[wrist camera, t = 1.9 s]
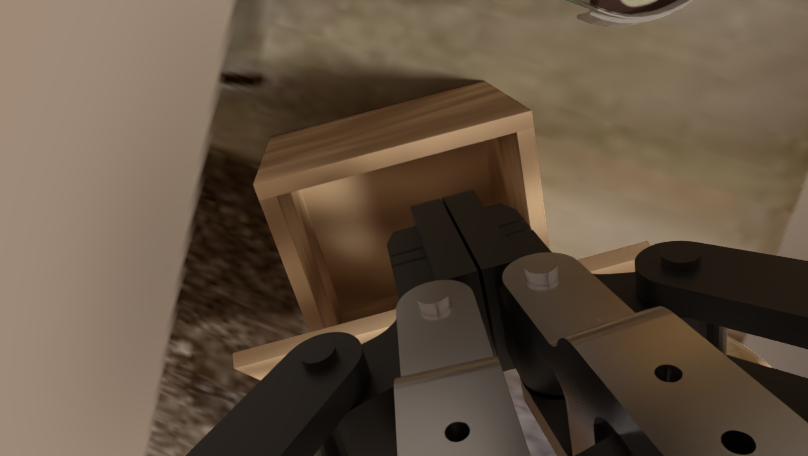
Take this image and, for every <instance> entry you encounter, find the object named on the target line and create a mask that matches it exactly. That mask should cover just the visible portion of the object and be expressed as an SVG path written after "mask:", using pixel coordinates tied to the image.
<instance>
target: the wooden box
mask: <svg viewBox="0 0 808 456" xmlns="http://www.w3.org/2000/svg"><path fill="white" fill-rule="evenodd" d="M253 186H254V189H255V191H256V194H257V197H258V199H259V202H260V204H261V207H262V210H263V212H264V215H265V217H266V220H267V223H268V225H269V228H270V231H271V233H272V236H273V238H274V241H275V244H276V246H277V249H278V252H279V254H280V257H281V259H282V262H283V265H284V267H285V270H286V273H287V275H288V278H289V280H290V283H291V286H292V288H293V291H294V293H295V296H296V299H297V301H298V304H299V307H300V309H301V312H302V314H303V317H304V320H305V322H306V325H307V328H308V330H309V333H310V332H313V331H317V330H321V329H325V328H328V327H332V326H336V325H339V324H343V323H347V322H350V321H354V320H358V319H361V318H365V317H369V316H372V315H376V314H380V313H384V312H387V311H391V310H395V309H396V306H397V304H398V302H399V298H398V293H397V289H396V284H395V280H394V275H393V271H392V266H391V262H390V257H389V253H388V249H387V242H388V241H389V239H390V237H391V235H392V233H393V232H394V231H398V230H402V229H406V228H409V227H413V226H414V224H413V220H412V215H411V211H410V206H412V205H416V204H420V203H423V202H427V201H431V200H435V199H438V198H440V199H441V201H442V197H445V196H449V195H453V194H457V193H460V192H464V191H468V190H474V192H475V193H476V195H477V196H478V198H479V199H480V200H481V202H482V203H483V205H484V206H485V207H487V206H491V205H495V204H498V203H501V204H504V205H506V206H509V207H511V208H514V209H516V210H517V211H518V212H519V214H520V215H521V216H522V217H523V218H524V220H525V221H526V222H527V223H528V224H529V226H530V227H531V229H532V230H534V232H535V233H536V234H537V235H538V236H539V238H540V239H541V240H542V241H543V242H544V244H545V245H546V246H547V247H548V248H549V241H548V233H547V225H546V218H545V210H544V202H543V194H542V187H541V179H540V171H539V163H538V155H537V148H536V140H535V132H534V124H533V117H532V110H530V109H529V108H527V107H525V106H524V105H522V104H521V103H519V102H517V101H516V100H514V99H513V98H511V97H509V96H508V95H506V94H505V93H503V92H502V91H500V90H498V89H497V88H495V87H494V86H492V85H490V84H489V83H487V82H486V81H482V82H478V83H474V84H471V85H467V86H463V87H459V88H455V89H452V90H448V91H444V92H440V93H436V94H433V95H429V96H425V97H421V98H418V99H414V100H410V101H406V102H402V103H399V104H395V105H391V106H387V107H383V108H380V109H376V110H372V111H368V112H364V113H361V114H357V115H353V116H349V117H346V118H342V119H338V120H334V121H330V122H327V123H323V124H319V125H315V126H311V127H308V128H304V129H300V130H296V131H292V132H289V133H285V134H281V135H277V136H274V137H270V139H269V142H268V145H267V148H266V150H265V153H264V156H263V158H262V161H261V164H260V167H259V169H258V172H257V175H256V178H255V180H254V183H253ZM549 250H550V249H549Z"/></svg>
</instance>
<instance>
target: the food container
mask: <svg viewBox="0 0 808 456" xmlns="http://www.w3.org/2000/svg"><path fill="white" fill-rule="evenodd" d="M567 1H570V2H572V3H575V4H578V5H580V6H583V7H585V8H588V9H590V12H587V13H583V14H580V15H577V18H578V19H580V20H583V21H585V22H588V23H591V24H596V25H601V26H613V27H623V26H629V25H635V24H640V23H644V22H648V21H651V20H654V19H657V18H660V17H663V16H666V15H668V14H670V13H672V12H674V11H676V10H678V9H680V8H682V7H684V6H685V5H687V4H688V3H690V2H691V1H692V0H567Z"/></svg>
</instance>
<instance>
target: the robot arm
mask: <svg viewBox="0 0 808 456" xmlns="http://www.w3.org/2000/svg"><path fill="white" fill-rule="evenodd" d="M410 211H411V215H412V220H413V224H414V226H413V227H409V228H406V229H402V230H398V231H394V232H393V233H392V235H391V237H390V239H389V241H388V242H387V249H388V253H389V257H390V262H391V266H392V271H393V275H394V280H395V284H396V289H397V293H398V298H399V302H398V304H397V306H396V320H395V321H394V323H393V324H392V325H391V326H390V327H389V328H388V329H387V330H385V331H384V332H383V333H381V334H380V335H378V336H376V337H374V338H373V339H371V340H369V341H367V342H365V343H363V344H361V343H360V341H359V340H358V339H357V338H356V337H355V336H353V335H351V334H349V333H345V332H329V333H323V334H319V335H316V336H314V337H311V338H309V339H307V340H305V341H303V342H302V343H300V344H298V345H297V346H296V347H294V348H293V349H292V350H291V351H290V352H289V353H288V354H287V355H286V356H285V357H284V358H283V359H282V360H281V361H280V362H279V363H278V364H277V365H276V366H275V367H274V368H273V369H272V370H271V371H270V372H269V373H268V374H267V375H266V376H265V377H264V378H263V379H262V380H261V381H260V382H259V383H258V384H257V385H256V386H255V387H254V388H253V389H252V390H251V391H250V392H249V393H248V394H247V395H246V396H245V397H244V398H243V399H242V400H241V401H240V402H239V403H238V404H237V405H236V406H235V407H234V408H233V409H232V410H231V411H230V412H229V413H228V414H227V415H226V416H225V417H224V418H223V419H222V420H221V421H220V422H219V423H218V424H217V425H216V426H215V427H214V428H213V429H212V430H211V431H210V432H209V433H208V434H207V435H206V436H205V437H204V438H203V439H202V440H201V441H200V442H199V443H198V444H197V445H196V446H195V447H194V448H193V449H192V450H191V451H190V452H189V453H188V454H187V455H186V456H314V455H315V456H530V453H529V450H528V447H527V444H526V441H525V438H524V434H523V431H522V428H521V425H520V422H519V419H518V416H517V413H516V410H515V407H514V404H513V401H512V398H511V395H510V392H509V389H508V386H507V383H506V380H505V377H504V374H503V371H507V370H511V369H514V368H516V370H517V372H518V374H519V376H520V381H521V386H522V392H523V397H524V400H525V402H526V404H527V405H528V407H529V409H530V411H531V412H532V414H533V416H534V417H535V419H536V421H537V422H538V424H539V426H540V427H541V429H542V431H543V433H544V434H545V436H546V438H547V439H548V441H549V443H550V444H551V446H552V448H553V449H554V451H555V453H556V455H557V456H808V378H804V377H801V376H797V375H794V374H791V373H787V372H784V371H781V370H777V369H774V368H770V367H767V366H764V365H760V364H757V363H753V362H750V361H747V360H743V359H740V358H736V357H733V356H730V355H727V334H728V328H729V329H733V330H737V331H741V332H744V333H748V334H752V335H756V336H760V337H764V338H768V339H771V340H775V341H779V342H783V343H786V344H790V345H794V346H798V347H801V348H805V349H808V261H804V260H798V259H792V258H787V257H781V256H775V255H769V254H763V253H757V252H751V251H745V250H739V249H733V248H728V247H722V246H716V245H710V244H704V243H698V242H691V241H670V242H663V243H658V244H655V245H652V246H649V247H647V248H645V249H644V250H642V251H641V252H640V253H639V254H638V255H637V256H636V258H635V261H634V262H635V272H627V273H614V274H592V273H591V272H590V271H589V270H588V269H587V268H586V267H584V266H583V265H582V264H581V263H580V262H579V261H578V260H576V259H575V258H573V257H571V256H568V255H565V254H561V253H553V252H551V251H550V250H549V248H548V247H547V246H546V245H545V244H544V242H543V241H542V240H541V239H540V238H539V236H538V235H537V234H536V233H535V232H534V230H532V229H531V227H530V226H529V224H528V223H527V222H526V221H525V220H524V218H523V217H522V216H521V215H520V214H519V212H518V211H517V210H516V209H514V208H511V207H509V206H506V205H504V204H501V203H498V204H495V205H491V206H487V207H485V206H484V205H483V203H482V202H481V200H480V199H479V198H478V196H477V195H476V193H475V192H474V190H468V191H464V192H460V193H457V194H453V195H449V196H445V197H442V201H441V199H440V198H438V199H435V200H431V201H427V202H423V203H420V204H416V205H412V206H410Z"/></svg>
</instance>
